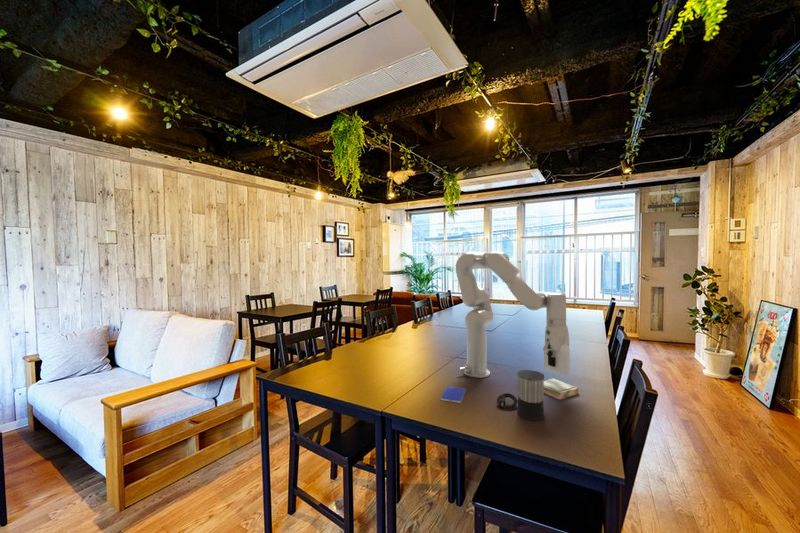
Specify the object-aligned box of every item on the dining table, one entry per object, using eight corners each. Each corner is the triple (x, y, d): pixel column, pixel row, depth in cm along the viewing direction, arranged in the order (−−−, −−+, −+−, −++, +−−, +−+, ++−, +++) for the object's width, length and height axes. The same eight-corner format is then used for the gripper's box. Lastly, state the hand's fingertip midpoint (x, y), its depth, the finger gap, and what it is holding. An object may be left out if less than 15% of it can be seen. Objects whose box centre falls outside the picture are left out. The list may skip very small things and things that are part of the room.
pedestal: (558, 399, 127) (558, 392, 127) (534, 388, 138) (534, 382, 138) (578, 393, 133) (578, 387, 133) (553, 383, 143) (553, 377, 143)
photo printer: (542, 369, 138) (542, 340, 138) (547, 367, 140) (546, 339, 140) (566, 375, 130) (566, 345, 130) (571, 373, 132) (571, 343, 132)
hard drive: (446, 385, 139) (440, 397, 128) (465, 388, 136) (461, 400, 125) (446, 389, 139) (440, 401, 128) (465, 392, 136) (461, 404, 125)
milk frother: (547, 422, 110) (547, 379, 109) (500, 418, 113) (500, 376, 112) (537, 404, 124) (537, 366, 123) (495, 401, 127) (495, 363, 126)
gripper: (550, 325, 128) (550, 370, 128) (577, 321, 135) (577, 364, 135) (534, 322, 134) (534, 365, 135) (561, 318, 142) (561, 359, 142)
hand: (556, 364), depth 135 cm, fingers closed on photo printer, 5 cm apart
